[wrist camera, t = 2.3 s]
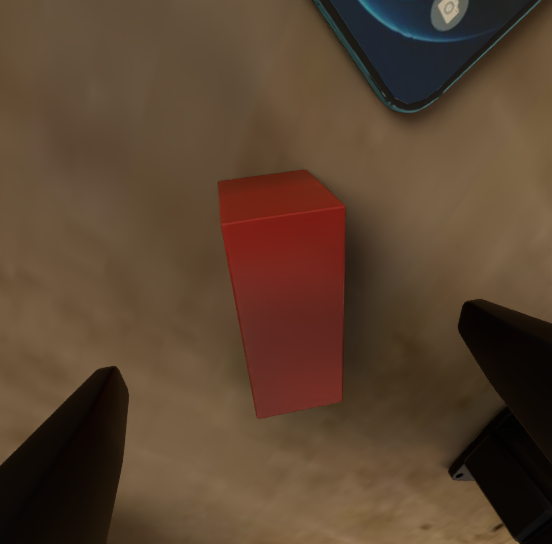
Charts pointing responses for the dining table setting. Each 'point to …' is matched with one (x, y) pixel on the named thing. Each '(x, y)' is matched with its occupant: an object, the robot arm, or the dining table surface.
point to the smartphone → (419, 42)
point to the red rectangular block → (287, 287)
